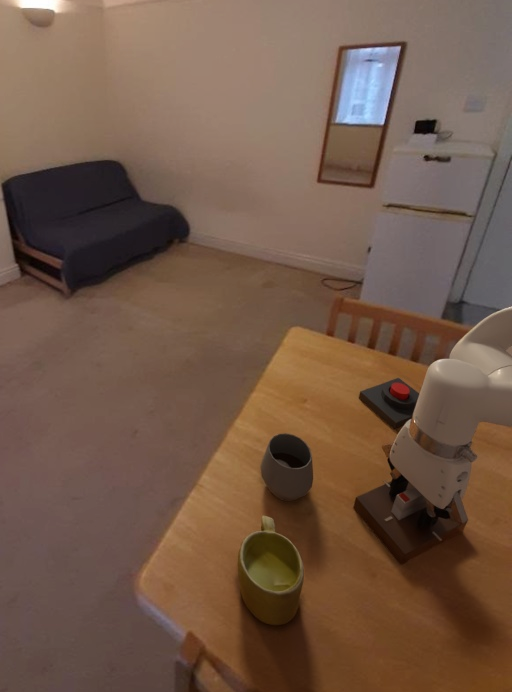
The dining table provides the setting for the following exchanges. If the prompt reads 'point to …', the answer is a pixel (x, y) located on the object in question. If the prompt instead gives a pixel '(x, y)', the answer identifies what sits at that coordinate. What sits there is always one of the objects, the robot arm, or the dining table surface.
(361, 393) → the black button base
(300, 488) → the cup
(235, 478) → the dining table surface
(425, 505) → the dial knob
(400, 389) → the timer button
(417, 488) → the robot arm
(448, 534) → the switch base
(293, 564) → the mug
